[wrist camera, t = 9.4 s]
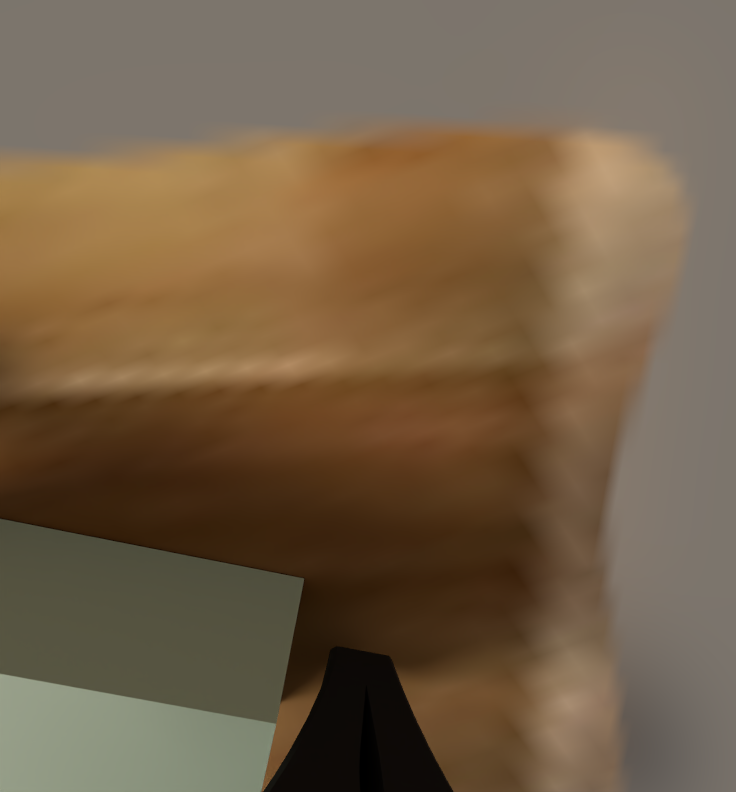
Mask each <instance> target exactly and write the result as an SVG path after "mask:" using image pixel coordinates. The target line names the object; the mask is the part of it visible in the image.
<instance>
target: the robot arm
mask: <svg viewBox="0 0 736 792" xmlns="http://www.w3.org/2000/svg"><path fill="white" fill-rule="evenodd" d="M263 792H453V790H452V788H451V786H450V785H449V783H448V781H447V779H446V778H445V776H444V774H443V772H442V770H441V768H440V767H439V765H438V763H437V761H436V759H435V757H434V755H433V753H432V751H431V750H430V748H429V746H428V744H427V741H426V739H425V737H424V735H423V733H422V731H421V729H420V727H419V725H418V723H417V721H416V718H415V716H414V714H413V712H412V709H411V707H410V705H409V702H408V700H407V698H406V695H405V693H404V691H403V688H402V686H401V683H400V680H399V678H398V675H397V672H396V670H395V667H394V664H393V661H392V660H391V658H390V657H389V656H386V655H381V654H376V653H371V652H365V651H360V650H355V649H349V648H344V647H339V646H336V647H334V648H332V649H331V650H330V654H329V658H328V662H327V666H326V670H325V675H324V679H323V683H322V686H321V689H320V692H319V694H318V696H317V698H316V700H315V703H314V705H313V707H312V709H311V711H310V714H309V716H308V718H307V720H306V722H305V724H304V725H303V727H302V729H301V731H300V733H299V735H298V736H297V738H296V740H295V742H294V744H293V745H292V747H291V749H290V751H289V753H288V754H287V756H286V757H285V759H284V761H283V762H282V764H281V766H280V767H279V769H278V770H277V772H276V773H275V775H274V776H273V778H272V779H271V781H270V782H269V784H268V785H267V787H266V788H265V790H264V791H263Z"/></svg>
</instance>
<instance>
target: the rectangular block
mask: <svg viewBox="0 0 736 792" xmlns="http://www.w3.org/2000/svg"><path fill="white" fill-rule="evenodd" d="M303 583H304V578H299V577H294V576H289V575H284V574H279V573H274V572H268V571H263V570H258V569H253V568H248V567H243V566H238V565H233V564H228V563H223V562H218V561H213V560H207V559H202V558H197V557H192V556H187V555H182V554H177V553H172V552H167V551H162V550H157V549H152V548H146V547H141V546H136V545H131V544H126V543H121V542H116V541H111V540H106V539H101V538H96V537H91V536H85V535H80V534H75V533H70V532H65V531H60V530H55V529H50V528H45V527H40V526H35V525H30V524H24V523H19V522H14V521H9V520H4V519H0V792H261V790H262V786H263V781H264V777H265V772H266V768H267V763H268V758H269V754H270V749H271V745H272V740H273V736H274V731H275V727H276V722H277V717H278V712H279V707H280V702H281V696H282V691H283V686H284V681H285V676H286V671H287V666H288V660H289V655H290V650H291V645H292V640H293V635H294V629H295V624H296V619H297V614H298V609H299V604H300V598H301V593H302V588H303Z"/></svg>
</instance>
